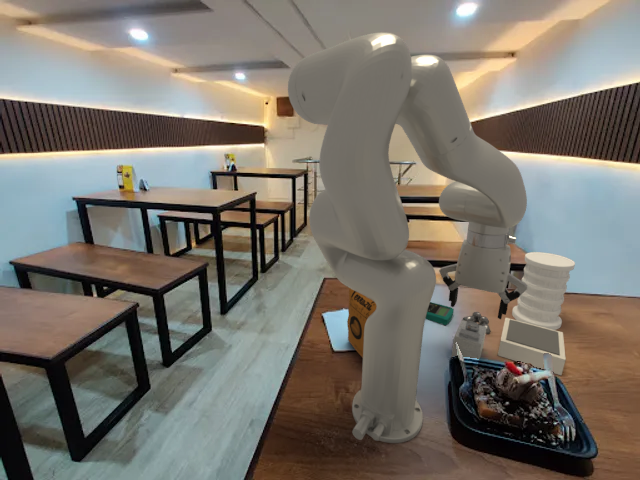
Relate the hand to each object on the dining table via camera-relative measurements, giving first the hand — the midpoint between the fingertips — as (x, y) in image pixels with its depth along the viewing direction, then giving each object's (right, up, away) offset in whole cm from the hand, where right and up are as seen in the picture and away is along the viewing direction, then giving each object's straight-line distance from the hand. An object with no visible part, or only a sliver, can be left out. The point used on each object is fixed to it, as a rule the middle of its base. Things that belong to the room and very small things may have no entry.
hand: (476, 309), depth 72 cm
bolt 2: (+8, -8, +12) cm, 17 cm away
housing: (-1, -11, +3) cm, 11 cm away
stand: (+14, -10, +4) cm, 18 cm away
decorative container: (+25, -6, +17) cm, 31 cm away
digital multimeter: (-5, -6, +21) cm, 22 cm away
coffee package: (-23, -11, +4) cm, 26 cm away
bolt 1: (+6, -7, +16) cm, 18 cm away
